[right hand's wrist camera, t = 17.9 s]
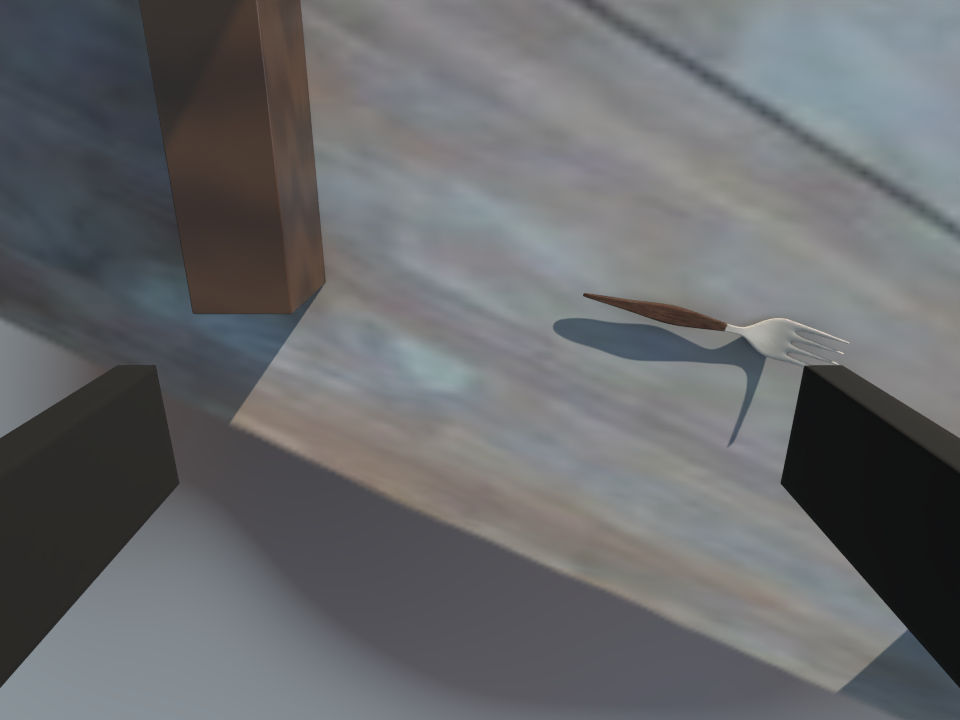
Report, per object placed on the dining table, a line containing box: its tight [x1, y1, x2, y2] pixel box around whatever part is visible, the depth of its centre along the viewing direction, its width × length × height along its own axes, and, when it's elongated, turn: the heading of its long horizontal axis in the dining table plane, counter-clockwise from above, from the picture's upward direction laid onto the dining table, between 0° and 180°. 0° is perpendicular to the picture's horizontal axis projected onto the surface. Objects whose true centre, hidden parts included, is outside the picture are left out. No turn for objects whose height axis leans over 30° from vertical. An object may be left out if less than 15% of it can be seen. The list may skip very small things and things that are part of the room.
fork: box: [583, 293, 849, 367], centre depth 36 cm, size 3×16×2 cm, turn 77°
